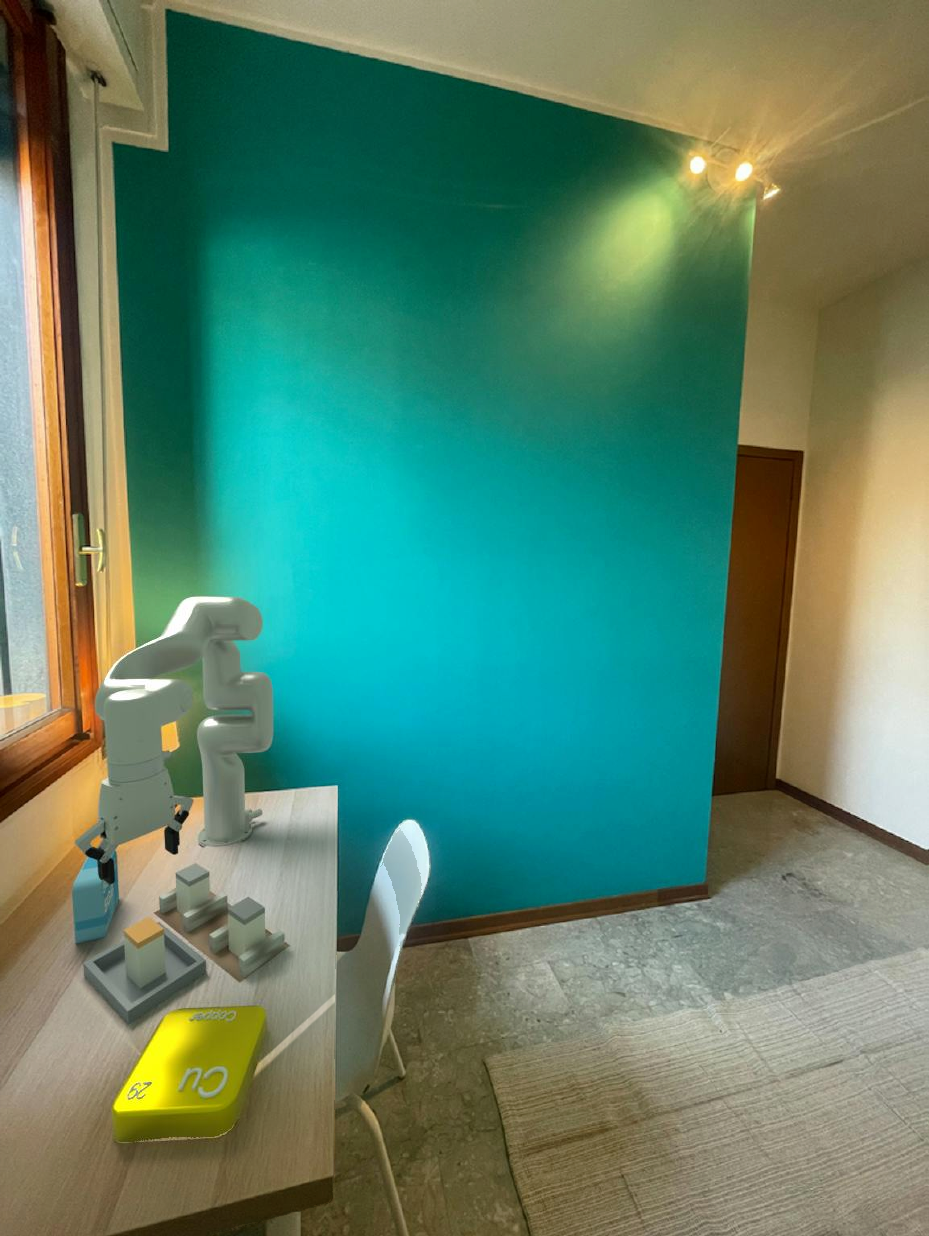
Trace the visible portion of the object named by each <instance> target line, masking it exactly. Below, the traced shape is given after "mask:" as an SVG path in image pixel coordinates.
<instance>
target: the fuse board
mask: <svg viewBox="0 0 929 1236" xmlns="http://www.w3.org/2000/svg"><path fill="white" fill-rule="evenodd" d="M158 900H159V901H158V902H159V903H158V905H159V909H158V910H156V911H155V912H153V914H155V916H156V917H158V918H159V919H160V920H162V921H163V922H164V923H165V924H167V925H168V926H169V927H170V928H171V929H173V930H174V931H175V932H176V933H178V934H179V935H180V936H181V937H183V938H184V939H185V940H186V941H188V942H189V943H190V944H191V945H193V946H194V947H195V948H197V949H198V950H199V951H200V952H201V953H202V954H204V955H205V956H206V957H207V958H209V959H210V960H211V961H213V963H214V964H216V965H217V966H219V967H220V968H221V969H222V970H224V971H225V973H228V974H229V976H230V977H232V978H233V979H235V980H236V981H237V982H239V983H241V982H243V980H245V979H247V978H248V977H250V975H253V973H255V972H256V971H258V970H259V969H260V968H261V967H263V966H265V965H266V964H267V963H268V962H270V961H272V959H274V958H275V957H277V956H278V955H279V954H281V953H282V952H283V951H285V950H286V949H288V948H289V947H291V945H290V944H289V943H288V942H286V941H285V939H286V937H285V936H286V935H285V931H282V930H281V929H278V930H276V931H275V932H271V931H270V930H268V929H266V928H265V939H264V940H263V941H262V942H260V943H259V944H257V945H256V946H254V947H253V948H251V949H250V950H248V951H247V952H245V953H244V954H243V955H241V956H240V957H238V956H236V955H235V954H234V953H232V952H231V951H230V950H229V932H228V908H230V907H231V906H232V905H231V904H230V903H228V894H227V893H226V892H221V893H219V894H215V893H213V892H212V891H211V890H210V900H208V901H206V902H205V903H203V904H201V905H199V906H197V907H195V908H194V909H192V910H190V911H188V912H186V913H185V914H181V913H180V912H179V911H177V896H176V887H175V888H173V889H171V890H169V891H167V892H165V893H163V894H161V895H159V896H158Z"/></svg>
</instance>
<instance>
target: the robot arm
mask: <svg viewBox="0 0 929 1236" xmlns="http://www.w3.org/2000/svg"><path fill="white" fill-rule="evenodd" d="M262 615H263V614H262V613H261V610H260V609H259V608H258V607H257V606H256V605H254V603H251V602H250V601H248V600H246V599H244V598H241V597H238V596H237V597H236V596H215V595H213V596H212V595H211V596H207V595H205V596H204V595H202V596H201V595H199V596H198V595H197V596H191V597H188V598H185V599H183V600H182V601H181V602H180V603H179V604H178V606H177V607H176V609H175V611H174V613H173V614H172V616H171V618H170V619H169V621H168V623H167V625H166V626H165V628H164V629H163V631H162V633H161V635H160V636H159V637H157V638H156V639H152V640H151V641H149V642H147V643H144V644H143V645H140V646H139V647H137V648H136V649H133V650H132V651H130V652H128V653H127V654H125V655H123V656H121V658H119V659H118V660H117V661H116V662H115V663H114V664H113V665H112V666H111V668H110V669H109V671H108V672H107V674H106V675H105V677H104V678H103V680H102V681H101V684H100V685H99V687H98V690H97V692H96V695H95V699H94V711H95V713H96V715H97V717H98V718H99V719H100V720H102V721H104V732H105V733H104V735H105V736H104V737H105V750H106V751H105V752H106V766H107V767H106V768H107V778H104V779H103V780H102V781H101V783H100V789H99V796H98V804H97V805H98V806H97V822H96V823H94V824H93V825H92V826H91V827H90V828H88V830H86V831H85V832H84V833H82V834H80V836H79V837H78V838H76V839H75V840H74V845H75V846H76V847H77V848H78V849H79V850H80V851H81V852H82V854H84V855H85V856H87V857H90V858H93V859H95V860H97V864H98V876H99V878H100V879H101V880H104V881H106V882H107V883H108V884H109V885H111V884H113V883H114V882H115V870H114V860H113V859H112V858H111V856H112V854H113V853H114V851H117V850H116V849H117V848H118V846H121V845H123V844H126V843H129V842H131V841H133V840H136V839H139V838H141V837H144V836H146V835H149V834H151V833H153V832H155V831H158V830H160V829H163V828H164V830H163V832H164V833H163V834H164V835H163V837H164V838H163V839H164V849H165V850H166V851H167V852H169V853H170V854H171V855H174V856H175V855H178V854H179V846H180V844H181V841H180V840H181V839H180V831H181V830H182V828H183V824H184V823H185V821H186V820H187V819H188V817H189V816H190V811H191V808H192V807H193V804H194V799H193V798H192V797H190V796H183V795H175V794H174V789H173V784H172V781H171V776H170V773H169V770H168V768H167V767H166V766H165V761H166V760H167V759H170V758H172V753H171V751H170V750H168V749H167V750H163V735H162V728H163V726H166V725H167V726H168V725H170V724H172V723H175V722H177V721H179V720H181V719H182V718H183V717H184V716H186V715H187V713H189V710H190V709H191V708H192V705H193V702H194V701H193V700H194V695H193V694H194V693H193V690H192V688H191V686H190V684H189V683H187V682H185V681H184V680H181V679H177V678H156V677H159V676H160V677H161V676H164V675H168V674H170V673H171V674H172V673H174V672H178V671H181V670H184V669H186V668H190V667H192V666H194V665H196V664H197V663H199V662H200V661H201V660H202V684H203V685H202V686H203V689H202V691H203V702H204V705H205V707H206V708H208V709H209V710H212V711H250V713H251V714H249V713H248V714H237V713H236V714H218V715H211V716H208V717H206V718H204V719H203V720H202V721H200V723H199V724H198V727H197V731H196V738H197V744H198V748H199V753H200V759H201V765H202V787H203V789H202V790H203V791H202V793H203V795H202V797H203V819H204V821H203V822H204V823H203V824H204V825H203V826H204V828H202V830H200V831H199V833H198V835H197V842H198V844H199V845H200V846H202V847H205V848H206V847H225V846H229V845H233V844H235V843H238V842H243V841H245V840H246V839H249V838H248V837H250V836H251V835H252V833H253V825H252V823H251V822H252V821H253V820H254V819H257V818H259V817H261V816H263V810H262V809H261V808H258V809H255V810H253V809H251V808H248V809H247V810H246V796H245V795H246V793H245V791H246V790H245V784H246V783H245V767H244V763H243V761H242V759H241V758H240V757H239V755H238V754H246V753H247V754H250V753H263V752H265V751H267V750H268V749H269V748H270V747H271V745H272V743H273V739H274V738H273V737H274V702H273V701H274V698H273V697H274V694H273V684H272V681H271V678H270V677H269V675H268V674H266V673H265V672H260V671H242V669H241V653H240V652H241V651H240V649H239V648H238V646H237V644H236V643H235V642H234V641H236V642H237V641H240V642H241V641H244V642H246V641H247V642H249V641H255V640H257V638H259V636H260V635H261V634H262V630H263V628H264V627H263V626H264V621H263V616H262ZM177 805H178V806H180V809H178V810H177V812H176V806H177ZM97 837H99V838H100V839H101V841H100V842H99V844H98V845H97V847H94V846H93V845H92V844H91V843H92V842H93V840H95V839H96V838H97Z"/></svg>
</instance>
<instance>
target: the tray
mask: <svg viewBox="0 0 929 1236" xmlns="http://www.w3.org/2000/svg"><path fill="white" fill-rule="evenodd" d="M156 923H157V924H159V925H160V926H161V927H162V928H164V945H165V968H166V973H164V974H163V975H161V976H159V977H158V978H156V979H155V980H153V981H151V982H150V983H148V984H147V985H145V986H144V987H142V988H139V987H138V986H137V985H136V984H135V983H134V982H133V981H132V980H131V979H130V978H129V977H128V976H127V975H126V967H125V948H124V940H123V941H120V942H119V943H117V944H115V945H113V946H112V947H110V948H108V949H106V950H105V951H102V952H100V953H99V954H97V955H95V956H93V957H91V958H89V959H88V960H86V961H84V962H83V963H82V964H83V965H82V966H83V976H84V977H85V979H87V981H88V982H89V983H90V984H91V985H92V986H93V987H94V988H95V990H97V992H98V993H99V994H100V995H101V996H102V997H103V998H104V999H105V1001H106V1002H107V1003H108V1004H109V1005H110V1006H111V1007H112V1009H114V1011H115V1012H116V1013H117V1014H118V1015H119V1016H120V1017H121V1019H122V1020H123V1021H124V1022H125V1023H126V1024H127V1025H131V1024H132V1023H134V1022H135V1021H137V1020H138V1019H139V1018H141V1017H142V1016H144V1015H146V1014H147V1013H148V1012H150V1011H152V1010H153V1009H155V1008H156V1007H157V1006H158V1005H160V1004H161V1003H163V1002H165V1001H166V1000H168V999H169V998H171V997H172V996H174V995H175V994H176V993H178V992H179V991H181V990H183V989H184V988H186V987H187V986H188V985H190V984H191V983H193V982H195V981H196V980H197V979H199V978H200V977H201V976H203V975H205V974H207V960H206V959H205V958H204V957H203V955H200V953H198V952H197V951H195V950H194V948H192V947H191V946H189V945H188V944H187V943H186V942H184V941H183V940H182V939H181V938H180V937H178V936H177V935H176V934H175V933H173V932H172V931H171V930H170V929H168V928H167V927H166V926H165V925H164V924H163V923H161V922H160V921H158V922H156Z"/></svg>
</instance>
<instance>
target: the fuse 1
mask: <svg viewBox="0 0 929 1236" xmlns="http://www.w3.org/2000/svg"><path fill="white" fill-rule="evenodd" d="M210 887H211V882H210V871H208V870H207V869H206V868H205V867H203V866H201V865H200V864H198V863H196V862H195V863H193V864H191V865H189V866H187V867H184V868H181V869H180V870H178V871H176V872H175V888H176V896H177V911H179V912H180V913H181V914H185V913H186V912H188V911H190V910H192V909H194V908H195V907H197V906H199V905H201V904H203V903H205V902H206V901H208V900H210V891H211V888H210Z"/></svg>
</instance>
